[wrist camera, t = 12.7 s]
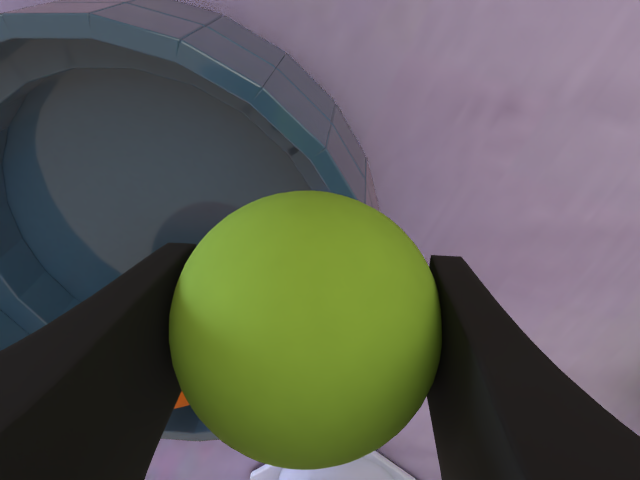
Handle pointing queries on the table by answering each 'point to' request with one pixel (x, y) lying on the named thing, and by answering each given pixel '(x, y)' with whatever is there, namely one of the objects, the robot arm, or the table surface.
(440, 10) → the table surface
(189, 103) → the bowl
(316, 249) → the lime
